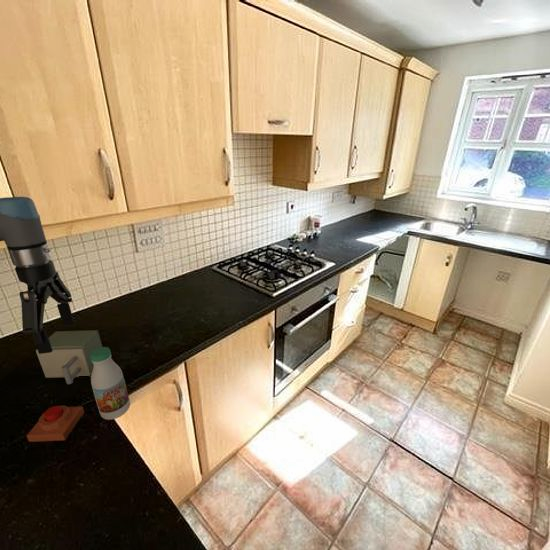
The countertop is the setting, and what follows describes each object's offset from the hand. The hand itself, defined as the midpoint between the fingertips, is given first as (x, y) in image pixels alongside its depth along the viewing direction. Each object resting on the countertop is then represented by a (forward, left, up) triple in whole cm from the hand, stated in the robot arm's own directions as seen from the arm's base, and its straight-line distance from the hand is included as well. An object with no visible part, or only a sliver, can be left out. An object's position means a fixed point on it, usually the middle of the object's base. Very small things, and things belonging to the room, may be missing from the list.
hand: (58, 337), depth 81 cm
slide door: (-9, +7, -21) cm, 24 cm away
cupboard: (-9, +15, -22) cm, 28 cm away
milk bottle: (+12, -4, -22) cm, 26 cm away
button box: (-1, -9, -22) cm, 24 cm away
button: (-1, -9, -19) cm, 21 cm away
